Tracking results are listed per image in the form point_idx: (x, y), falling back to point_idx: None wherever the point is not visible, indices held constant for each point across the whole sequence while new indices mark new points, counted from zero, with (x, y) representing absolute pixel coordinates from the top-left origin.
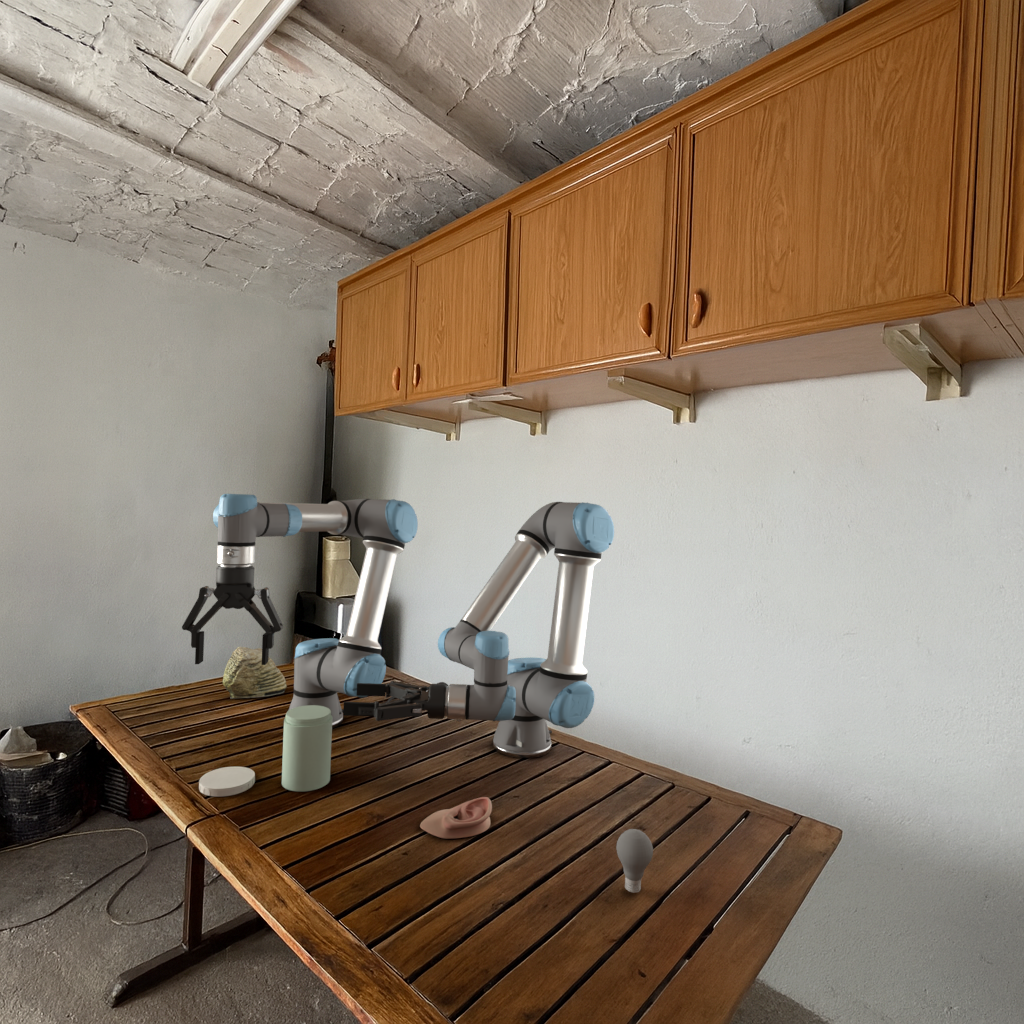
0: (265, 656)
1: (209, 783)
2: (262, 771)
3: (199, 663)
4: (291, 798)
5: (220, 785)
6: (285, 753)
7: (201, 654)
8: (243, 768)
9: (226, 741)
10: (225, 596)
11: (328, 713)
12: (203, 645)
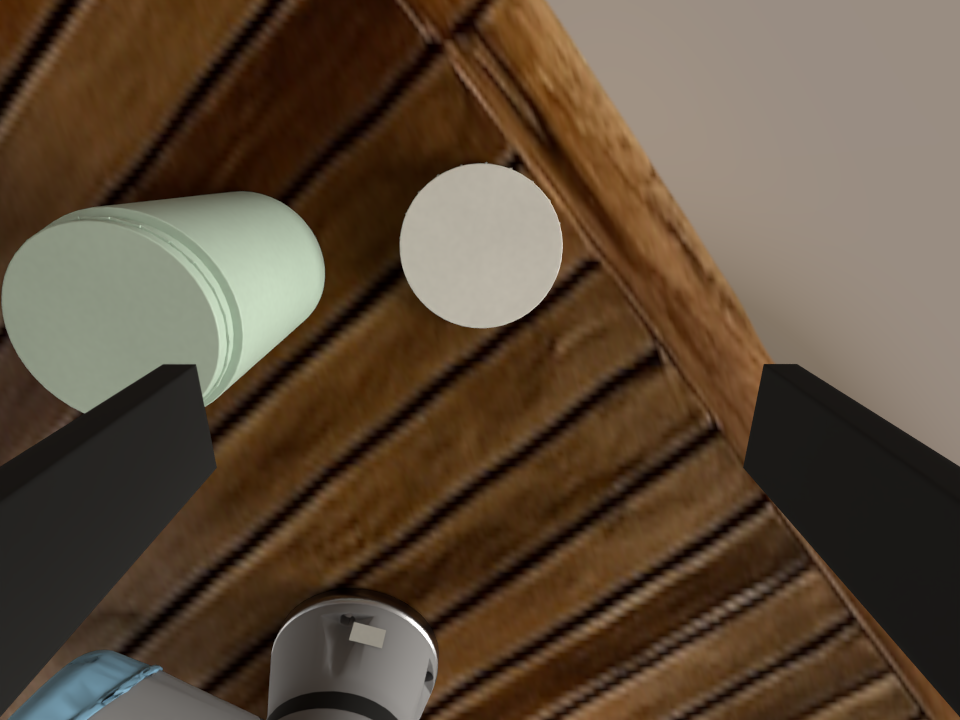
0: (111, 399)
1: (523, 204)
2: (405, 336)
3: (761, 383)
4: (256, 144)
5: (484, 187)
6: (261, 233)
7: (792, 462)
8: (451, 312)
9: (569, 535)
10: None
11: (5, 310)
12: (832, 561)
